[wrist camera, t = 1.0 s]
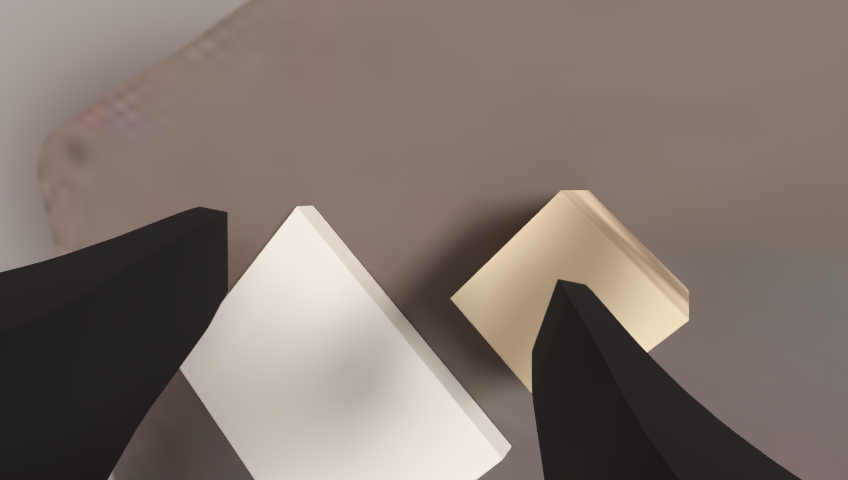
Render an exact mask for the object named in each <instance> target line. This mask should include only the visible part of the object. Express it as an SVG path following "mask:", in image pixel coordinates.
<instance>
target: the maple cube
mask: <svg viewBox="0 0 848 480" xmlns="http://www.w3.org/2000/svg"><path fill="white" fill-rule="evenodd" d="M558 279H561V280H566V281H571V282H576V283H581V284H585V285H587V286H588V287H589V288H590V289H591V290H592V291H593V292H594V293H595V295H596V296H597V297H598V298H599V299H600V300H601V301H602V303H603V304H604V305H605V306H606V307H607V308H608V309H609V311H610V312H611V313H612V314H613V315H614V316H615V318H616V319H617V320H618V321H619V322H620V323H621V324H622V326H623V327H624V328H625V329H626V330H627V331H628V332H629V334H630V335H631V336H632V337H633V338H634V339H635V340H636V341H637V342H638V344H639V345H640V346H641V347H642V348H643V349H644V350H645V351H646V352H648V351H649V350H651V349H652V348H653V347H655V346H656V345H657V344H659V343H660V342H661V341H662V340H664V339H665V338H666V337H668V336H669V335H670V334H672V333H673V332H674V331H676V330H677V329H678V328H680V327H681V326H682V325H683V324H685V323H686V322H687V321H689V290H688V289H687V288H686V287H685V286H684V285H683V284H682V283H681V282H680V281H679V280H678V279H677V278H676V277H675V276H674V275H673V274H672V273H671V272H670V271H669V270H668V269H667V268H666V267H665V266H664V265H663V264H662V263H661V262H660V261H659V260H658V259H657V258H656V257H655V256H654V255H653V254H652V253H651V252H650V251H649V250H648V249H647V248H646V247H645V246H644V245H643V244H642V243H641V242H640V241H639V240H638V239H637V238H636V237H635V236H634V235H633V234H632V233H631V232H630V231H629V230H628V229H627V228H626V227H625V226H624V225H623V224H622V223H621V222H620V221H619V220H618V219H617V218H616V217H615V216H614V215H613V214H612V213H611V212H610V211H609V210H608V209H607V208H606V207H605V206H604V205H603V204H602V203H601V202H600V201H599V200H598V199H597V198H596V197H595V196H594V195H593V194H592V193H591V192H590V191H589V190H564V191H560V192H559V193H558V194H557V195H556V196H555V197H554V198H553V199H552V200H551V201H550V202H549V203H548V204H547V205H546V206H545V207H544V208H542V209H541V210H540V211H539V212H538V213H537V214H536V215H535V216H534V217H533V218H532V219H531V220H530V221H529V222H528V223H527V224H526V225H525V226H524V227H523V228H522V229H521V230H520V231H519V232H518V233H517V234H516V235H515V236H514V237H513V238H512V239H511V240H510V241H509V242H508V243H507V244H506V245H505V246H504V247H503V248H501V249H500V250H499V251H498V252H497V253H496V254H495V255H494V256H493V257H492V258H491V259H490V260H489V261H488V262H487V263H486V264H485V265H484V266H483V267H482V268H481V269H480V270H479V271H478V272H477V273H476V274H475V275H474V276H473V277H472V278H471V279H470V280H469V281H468V282H467V283H466V284H465V285H464V286H463V287H462V288H460V289H459V290H458V291H457V292H456V293H455V294H454V295H453V296H452V297H451V298H450V299H451V300H452V301H453V302H454V303H455V305H456V306H457V307H458V308H459V309H460V310H461V312H462V313H463V314H464V315H465V316H466V317H467V319H468V320H469V321H470V322H471V323H472V324H473V326H474V327H475V328H476V329H477V330H478V331H479V333H480V334H481V335H482V336H483V337H484V338H485V339H486V341H487V342H488V343H489V344H490V345H491V346H492V348H493V349H494V350H495V351H496V352H497V353H498V355H499V356H500V357H501V358H502V359H503V360H504V362H505V363H506V364H507V365H508V366H509V367H510V369H511V370H512V371H513V372H514V373H515V374H516V376H517V377H518V378H519V379H520V380H521V381H522V383H523V384H524V385H525V386H526V387H527V388H528V390H529V391H530V392H531V393H532V349H533V347H534V344H535V341H536V338H537V335H538V333H539V330H540V327H541V324H542V322H543V319H544V316H545V313H546V310H547V308H548V305H549V302H550V299H551V297H552V294H553V291H554V288H555V285H556V283H557V280H558Z"/></svg>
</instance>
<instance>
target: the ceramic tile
mask: <svg viewBox="0 0 848 480" xmlns="http://www.w3.org/2000/svg"><path fill="white" fill-rule="evenodd" d="M180 370H181V371H182V373H183V374H184V376H185V377H186V379H187V380H188V382H189V383H190V385H191V386H192V388H193V389H194V390H195V392H196V393H197V395H198V396H199V398H200V399H201V401H202V402H203V404H204V405H205V407H206V408H207V410H208V411H209V413H210V414H211V416H212V417H213V419H214V420H215V422H216V423H217V425H218V426H219V428H220V429H221V430H222V432H223V433H224V435H225V436H226V438H227V439H228V441H229V442H230V444H231V445H232V447H233V448H234V450H235V451H236V453H237V454H238V456H239V457H240V459H241V460H242V462H243V463H244V465H245V466H246V467H247V469H248V470H249V472H250V473H251V475H252V476H253V478H254V479H255V480H476V479H478V478H479V477H480V476H482V475H483V474H484V473H486V472H487V471H488V470H490V469H491V468H492V467H493V466H495V465H496V464H497V463H499V462H500V461H501V460H503V458H504V457H505V455H506V454H507V452H508V451H509V450H510V448H511V447H512V446H511V445H510V444H509V443H508V441H507V440H506V439H505V438H504V437H503V435H502V434H501V433H500V432H499V430H498V429H497V428H496V427H495V426H494V424H493V423H492V422H491V421H490V420H489V418H488V417H487V416H486V415H485V413H484V412H483V411H482V410H481V409H480V407H479V406H478V405H477V404H476V403H475V401H474V400H473V399H472V398H471V397H470V395H469V394H468V393H467V392H466V390H465V389H464V388H463V387H462V386H461V384H460V383H459V382H458V381H457V380H456V378H455V377H454V376H453V375H452V373H451V372H450V371H449V370H448V369H447V367H446V366H445V365H444V364H443V363H442V361H441V360H440V359H439V358H438V357H437V355H436V354H435V353H434V352H433V350H432V349H431V348H430V347H429V346H428V344H427V343H426V342H425V341H424V340H423V338H422V337H421V336H420V335H419V333H418V332H417V331H416V330H415V329H414V327H413V326H412V325H411V324H410V323H409V321H408V320H407V319H406V318H405V317H404V315H403V314H402V313H401V312H400V310H399V309H398V308H397V307H396V306H395V304H394V303H393V302H392V301H391V300H390V298H389V297H388V296H387V295H386V294H385V292H384V291H383V290H382V289H381V287H380V286H379V285H378V284H377V283H376V281H375V280H374V279H373V278H372V277H371V275H370V274H369V273H368V272H367V270H366V269H365V268H364V267H363V266H362V264H361V263H360V262H359V261H358V260H357V258H356V257H355V256H354V255H353V254H352V252H351V251H350V250H349V249H348V247H347V246H346V245H345V244H344V243H343V241H342V240H341V239H340V238H339V237H338V235H337V234H336V233H335V232H334V230H333V229H332V228H331V227H330V226H329V224H328V223H327V222H326V221H325V220H324V218H323V217H322V216H321V215H320V214H319V212H318V211H317V210H316V209H315V207H314V206H297V207H296V208H295V209H294V211H293V212H292V213H291V215H290V216H289V217H288V218H287V220H286V221H285V222H284V224H283V225H282V226H281V227H280V229H279V230H278V231H277V232H276V234H275V235H274V236H273V238H272V239H271V240H270V241H269V243H268V244H267V245H266V247H265V248H264V249H263V250H262V252H261V253H260V254H259V256H258V257H257V258H256V259H255V261H254V262H253V263H252V265H251V266H250V267H249V268H248V270H247V271H246V272H245V273H244V275H243V276H242V277H241V279H240V280H239V281H238V282H237V284H236V285H235V286H234V288H233V289H232V290H231V291H230V293H229V294H228V295H227V297H226V298H225V299H224V300H223V302H222V303H221V305H220V307H219V309H218V311H217V312H216V314H215V316H214V318H213V320H212V322H211V324H210V325H209V327H208V329H207V330H206V332H205V333H204V334H203V336H202V337H201V339H200V340H199V341H198V343H197V344H196V346H195V347H194V348H193V350H192V351H191V353H190V354H189V355H188V357H187V358H186V360H185V361H184V362H183V364H182V365H181V366H180Z"/></svg>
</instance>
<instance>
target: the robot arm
mask: <svg viewBox="0 0 848 480" xmlns="http://www.w3.org/2000/svg"><path fill="white" fill-rule="evenodd" d="M227 291H228V235H227V212H223V211H218V210H213V209H208V208H203V207H197V208H193V209H190V210H187V211H184V212H181V213H178V214H175V215H173V216H170V217H167V218H165V219H162V220H160V221H157V222H155V223H152V224H149V225H147V226H144V227H142V228H139V229H136V230H134V231H131V232H129V233H126V234H123V235H121V236H118V237H115V238H113V239H110V240H107V241H104V242H101V243H98V244H95V245H92V246H89V247H86V248H83V249H80V250H78V251H75V252H72V253H69V254H66V255H63V256H59V257H56V258H53V259H49V260H46V261H43V262H39V263H35V264H32V265H28V266H24V267H20V268H16V269H12V270H9V271H4V272H0V480H107V479H108V478H109V476H110V474H111V472H112V470H113V469H114V467H115V465H116V463H117V462H118V460H119V458H120V457H121V455H122V453H123V451H124V450H125V448H126V446H127V444H128V443H129V441H130V439H131V437H132V436H133V434H134V432H135V431H136V429H137V427H138V426H139V424H140V423H141V421H142V420H143V418H144V417H145V415H146V413H147V412H148V410H149V409H150V407H151V406H152V405H153V403H154V402H155V401H156V399H157V398H158V397H159V395H160V394H161V392H162V391H163V390H164V388H165V387H166V386H167V384H168V383H169V381H170V380H171V379H172V377H173V376H174V375H175V373H176V372H177V370H178V369H179V368H180V366H181V365H182V364H183V362H184V361H185V360H186V358H187V357H188V355H189V354H190V353H191V351H192V350H193V348H194V347H195V346H196V344H197V343H198V341H199V340H200V339H201V337H202V336H203V334H204V333H205V332H206V330H207V329H208V327H209V325H210V324H211V322H212V320H213V318H214V316H215V314H216V312H217V311H218V309H219V307H220V305H221V303H222V301H223V299H224V297H225V295H226V293H227ZM532 396H533V404H534V411H535V418H536V425H537V432H538V439H539V445H540V452H541V459H542V466H543V472H544V479H545V480H801V479H800V478H798V477H796V476H795V475H794V474H792V473H791V472H789V471H788V470H786V469H785V468H783V467H782V466H780V465H779V464H777V463H776V462H775V461H773V460H772V459H770V458H769V457H767V456H766V455H765V454H763V453H762V452H761V451H759V450H758V449H757V448H755V447H754V446H753V445H751V444H750V443H749V442H747V441H746V440H744V439H743V438H742V437H740V436H739V435H738V434H736V433H735V432H734V431H733V430H731V429H730V428H729V427H728V426H726V425H725V424H724V423H722V422H721V421H720V420H719V419H718V418H716V417H715V416H714V415H713V414H712V413H711V412H709V411H708V410H707V409H706V408H705V407H704V406H702V405H701V404H700V403H699V402H698V401H697V400H695V399H694V398H693V397H692V396H691V395H690V394H688V393H687V392H686V391H685V390H684V389H683V388H682V387H681V386H680V385H679V384H678V383H677V382H676V381H675V380H674V379H673V378H672V377H671V376H670V375H669V374H668V373H666V372H665V371H664V370H663V369H662V368H661V367H660V366H659V365H658V364H657V363H656V362H655V361H654V360H653V358H652V357H651V356H650V355H649V354H648V353H647V352H646V351H645V350H644V349H643V348H642V347H641V346H640V345H639V344H638V342H637V341H636V340H635V339H634V338H633V337H632V336H631V335H630V334H629V332H628V331H627V330H626V329H625V328H624V327H623V326H622V324H621V323H620V322H619V321H618V320H617V319H616V318H615V316H614V315H613V314H612V313H611V312H610V311H609V309H608V308H607V307H606V306H605V305H604V304H603V303H602V301H601V300H600V299H599V298H598V297H597V296H596V295H595V293H594V292H593V291H592V290H591V289H590V288H589V287H588V286H587V285H585V284H581V283H576V282H571V281H566V280H561V279H558V280H557V283H556V285H555V288H554V291H553V294H552V297H551V299H550V302H549V305H548V308H547V310H546V313H545V316H544V319H543V322H542V324H541V327H540V330H539V333H538V335H537V338H536V341H535V344H534V347H533V349H532Z"/></svg>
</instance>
